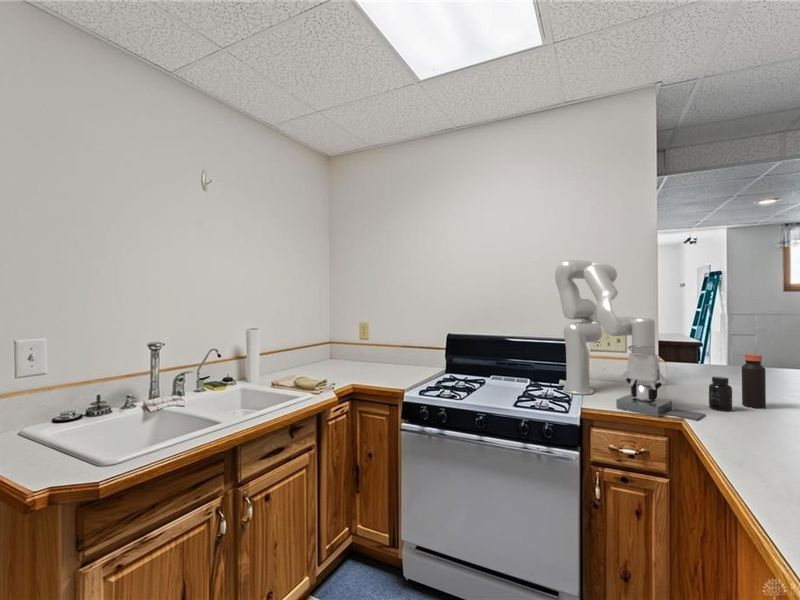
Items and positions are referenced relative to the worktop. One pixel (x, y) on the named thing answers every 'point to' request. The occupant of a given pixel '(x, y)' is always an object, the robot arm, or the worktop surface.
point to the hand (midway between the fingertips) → (643, 397)
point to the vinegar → (753, 382)
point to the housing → (644, 406)
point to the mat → (686, 414)
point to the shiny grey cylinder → (643, 393)
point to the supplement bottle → (720, 394)
